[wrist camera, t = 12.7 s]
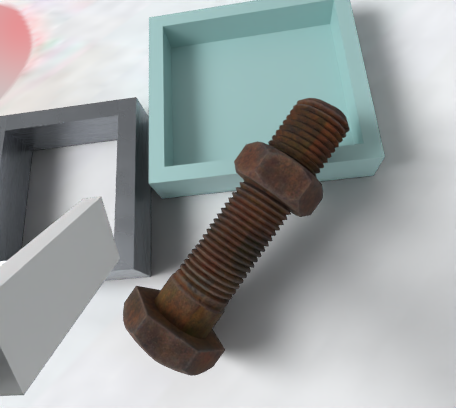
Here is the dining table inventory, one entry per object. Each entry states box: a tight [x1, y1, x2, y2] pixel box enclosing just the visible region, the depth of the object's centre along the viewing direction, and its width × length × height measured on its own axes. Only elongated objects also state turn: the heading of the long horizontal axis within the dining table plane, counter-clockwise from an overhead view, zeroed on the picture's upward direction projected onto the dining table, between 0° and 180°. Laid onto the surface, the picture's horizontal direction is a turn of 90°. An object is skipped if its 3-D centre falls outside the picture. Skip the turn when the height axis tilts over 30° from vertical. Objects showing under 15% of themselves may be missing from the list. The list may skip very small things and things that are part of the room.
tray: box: [149, 0, 385, 199], centre depth 26 cm, size 14×13×3 cm
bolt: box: [123, 98, 350, 375], centre depth 20 cm, size 6×5×15 cm
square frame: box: [0, 97, 151, 281], centre depth 25 cm, size 10×11×3 cm
